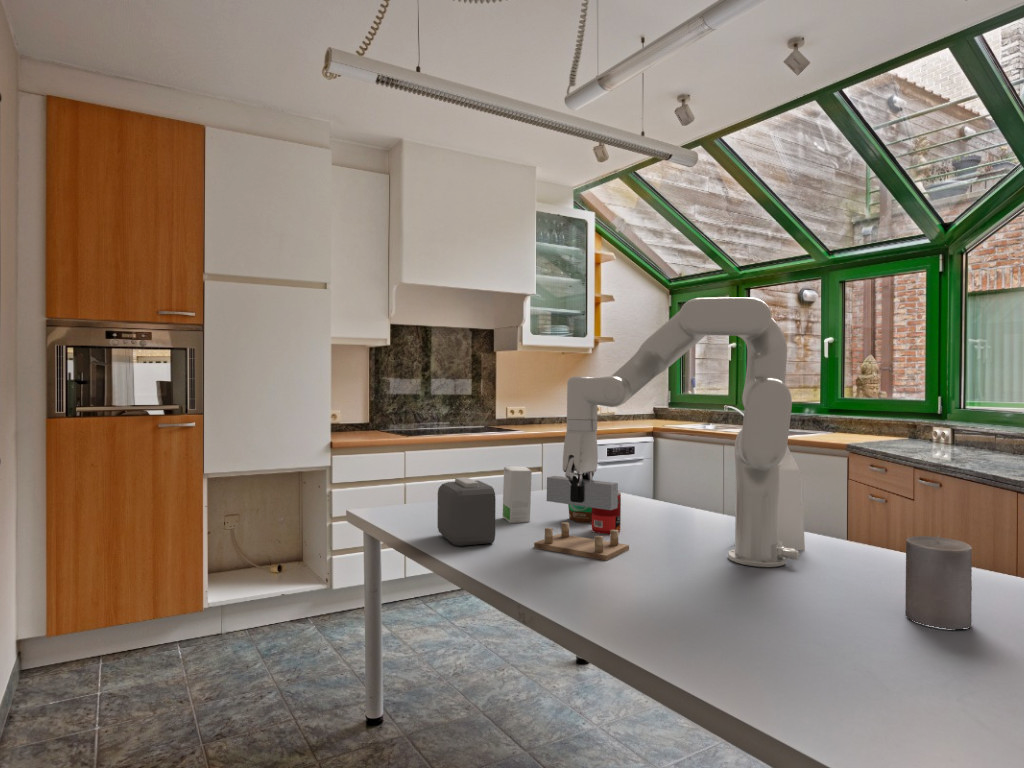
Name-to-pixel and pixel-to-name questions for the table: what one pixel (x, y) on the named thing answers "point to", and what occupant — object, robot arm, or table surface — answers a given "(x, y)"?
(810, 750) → the table surface
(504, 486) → the skincare box
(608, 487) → the steel bar
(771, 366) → the robot arm
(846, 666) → the table surface
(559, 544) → the rack
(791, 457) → the milk
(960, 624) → the pillar candle
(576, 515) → the food container
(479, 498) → the alarm clock
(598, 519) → the canned food
